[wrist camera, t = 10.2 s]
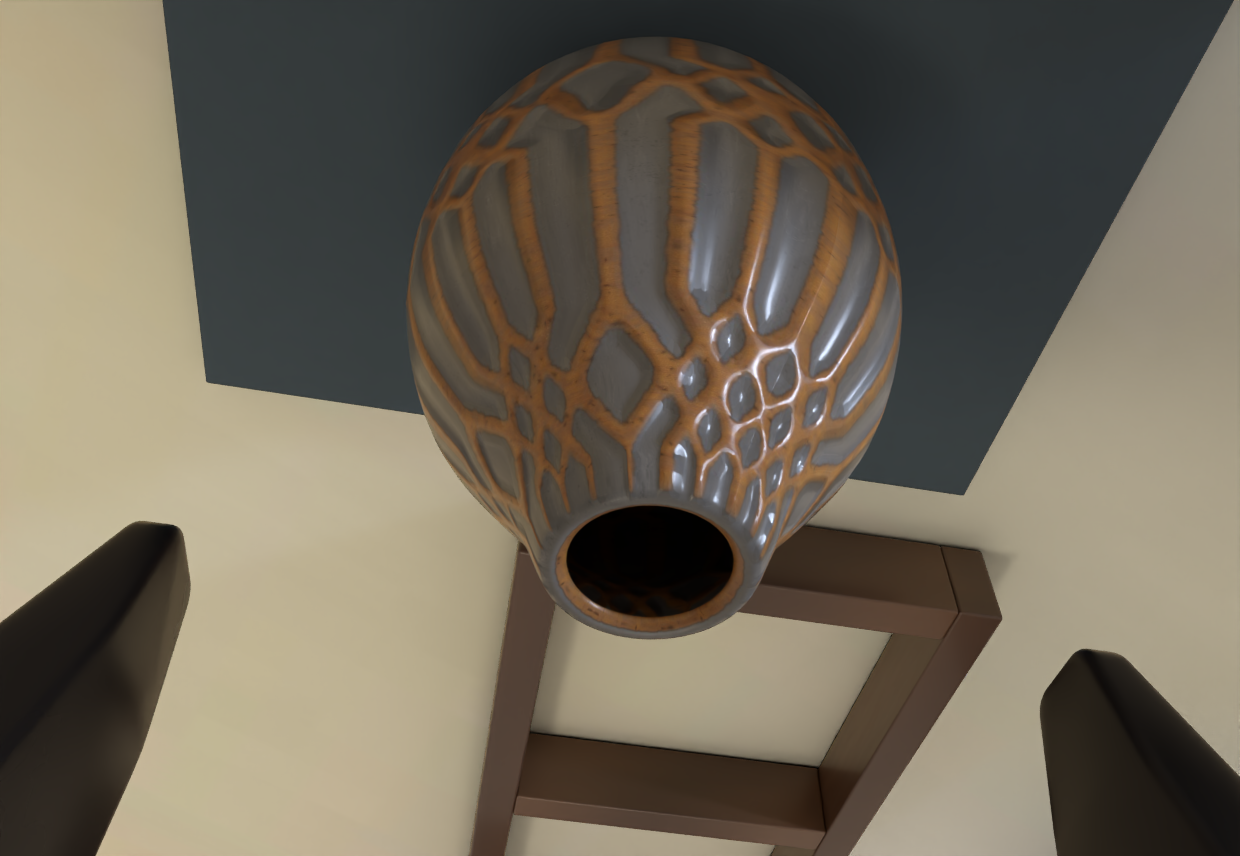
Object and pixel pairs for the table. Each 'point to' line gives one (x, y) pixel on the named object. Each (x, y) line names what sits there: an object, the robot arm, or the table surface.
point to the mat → (704, 11)
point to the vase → (653, 324)
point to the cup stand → (736, 788)
